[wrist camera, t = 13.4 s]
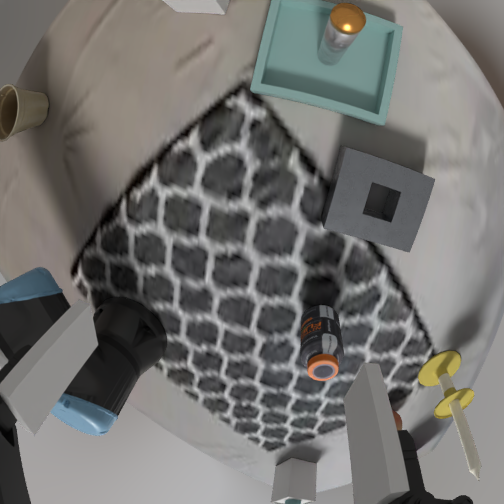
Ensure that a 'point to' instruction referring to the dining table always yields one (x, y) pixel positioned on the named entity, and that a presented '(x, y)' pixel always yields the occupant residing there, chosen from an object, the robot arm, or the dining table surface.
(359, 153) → the block
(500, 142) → the dining table surface
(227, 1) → the milk carton
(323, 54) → the pin
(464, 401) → the candle
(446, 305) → the dining table surface
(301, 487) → the soap bottle
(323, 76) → the tray
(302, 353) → the pill bottle
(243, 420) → the dining table surface
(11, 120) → the flower pot
